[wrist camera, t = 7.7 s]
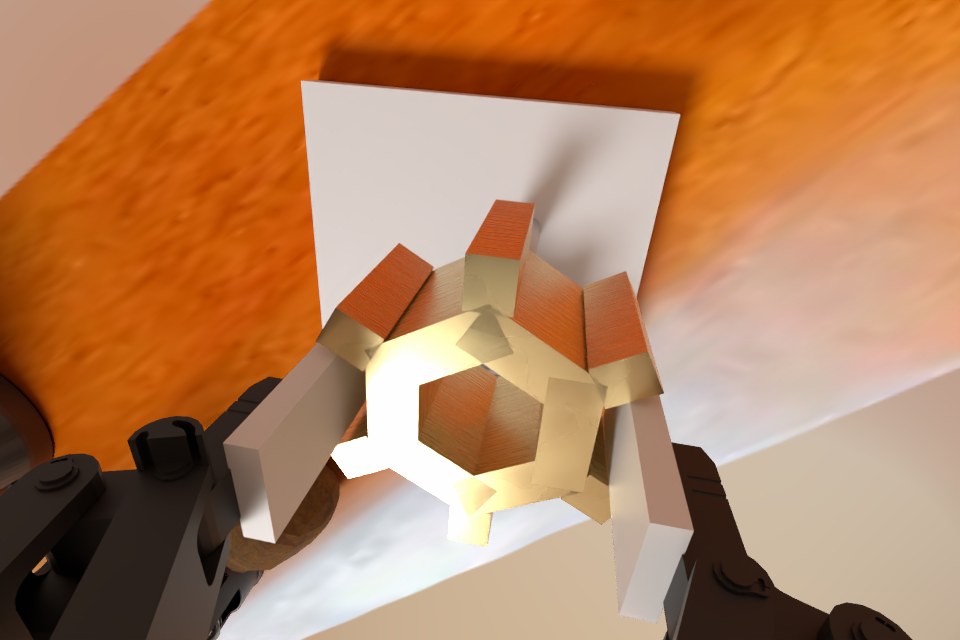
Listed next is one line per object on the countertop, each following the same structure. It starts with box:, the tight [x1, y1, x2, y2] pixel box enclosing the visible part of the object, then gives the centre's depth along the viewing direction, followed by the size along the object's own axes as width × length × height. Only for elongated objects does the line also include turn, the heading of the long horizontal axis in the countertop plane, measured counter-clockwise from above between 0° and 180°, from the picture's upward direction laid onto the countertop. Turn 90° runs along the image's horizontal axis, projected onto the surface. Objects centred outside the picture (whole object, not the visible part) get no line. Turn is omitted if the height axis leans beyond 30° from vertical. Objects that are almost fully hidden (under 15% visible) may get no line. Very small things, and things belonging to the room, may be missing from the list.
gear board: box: [301, 80, 680, 377], centre depth 29 cm, size 20×22×8 cm
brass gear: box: [316, 199, 664, 547], centre depth 15 cm, size 9×9×5 cm
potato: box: [226, 465, 339, 573], centre depth 40 cm, size 8×12×9 cm
